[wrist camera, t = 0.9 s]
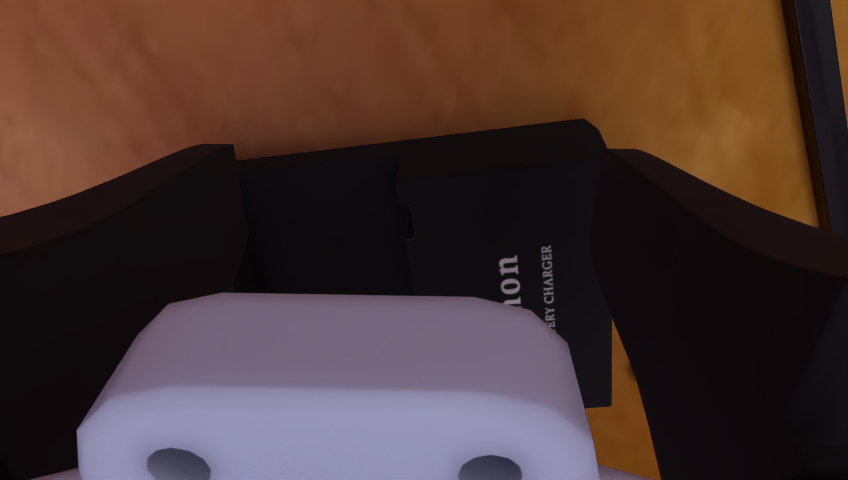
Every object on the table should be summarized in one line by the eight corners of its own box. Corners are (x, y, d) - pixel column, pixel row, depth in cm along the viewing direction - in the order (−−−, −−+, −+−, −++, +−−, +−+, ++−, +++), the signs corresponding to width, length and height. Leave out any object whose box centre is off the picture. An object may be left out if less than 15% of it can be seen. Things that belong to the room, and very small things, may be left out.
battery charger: (589, 114, 21) (617, 154, 17) (592, 340, 25) (615, 409, 22) (225, 159, 22) (182, 204, 18) (288, 366, 26) (263, 435, 23)
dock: (635, 378, 26) (641, 390, 25) (479, -49, 19) (480, -48, 18) (862, 310, 24) (874, 323, 23) (787, -198, 17) (803, -203, 16)
